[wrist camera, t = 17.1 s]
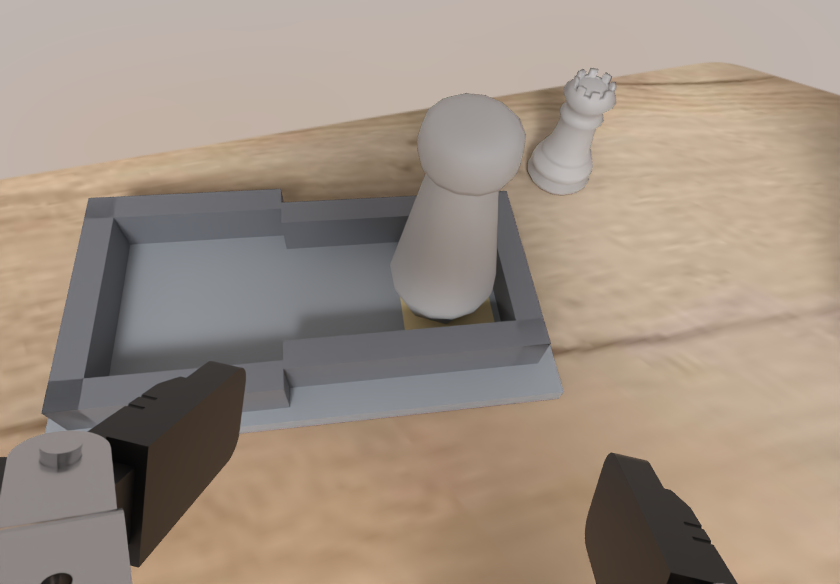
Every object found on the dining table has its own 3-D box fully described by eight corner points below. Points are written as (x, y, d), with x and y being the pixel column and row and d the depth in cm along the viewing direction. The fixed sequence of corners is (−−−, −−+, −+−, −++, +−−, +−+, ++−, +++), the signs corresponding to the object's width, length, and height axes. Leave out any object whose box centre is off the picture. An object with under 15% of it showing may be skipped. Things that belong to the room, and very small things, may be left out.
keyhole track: (52, 454, 27) (12, 432, 24) (97, 227, 34) (71, 188, 31) (558, 398, 30) (579, 374, 27) (503, 205, 38) (515, 168, 35)
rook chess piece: (598, 188, 39) (647, 95, 32) (547, 206, 38) (587, 114, 31) (563, 146, 41) (602, 51, 34) (513, 162, 40) (544, 67, 33)
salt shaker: (382, 256, 33) (391, 71, 22) (474, 248, 34) (525, 65, 23) (398, 343, 30) (416, 179, 19) (497, 330, 31) (569, 167, 20)
